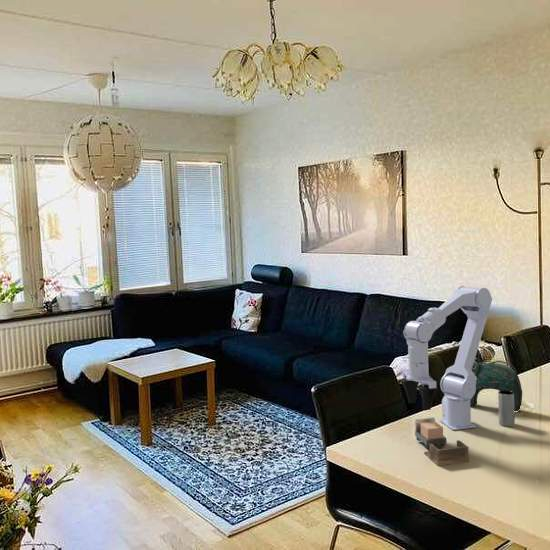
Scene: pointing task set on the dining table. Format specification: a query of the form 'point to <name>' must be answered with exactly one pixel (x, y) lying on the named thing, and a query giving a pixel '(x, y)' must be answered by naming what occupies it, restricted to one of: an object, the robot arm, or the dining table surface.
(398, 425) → the dining table surface
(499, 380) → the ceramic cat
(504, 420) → the grey cylinder
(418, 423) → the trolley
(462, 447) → the dock
